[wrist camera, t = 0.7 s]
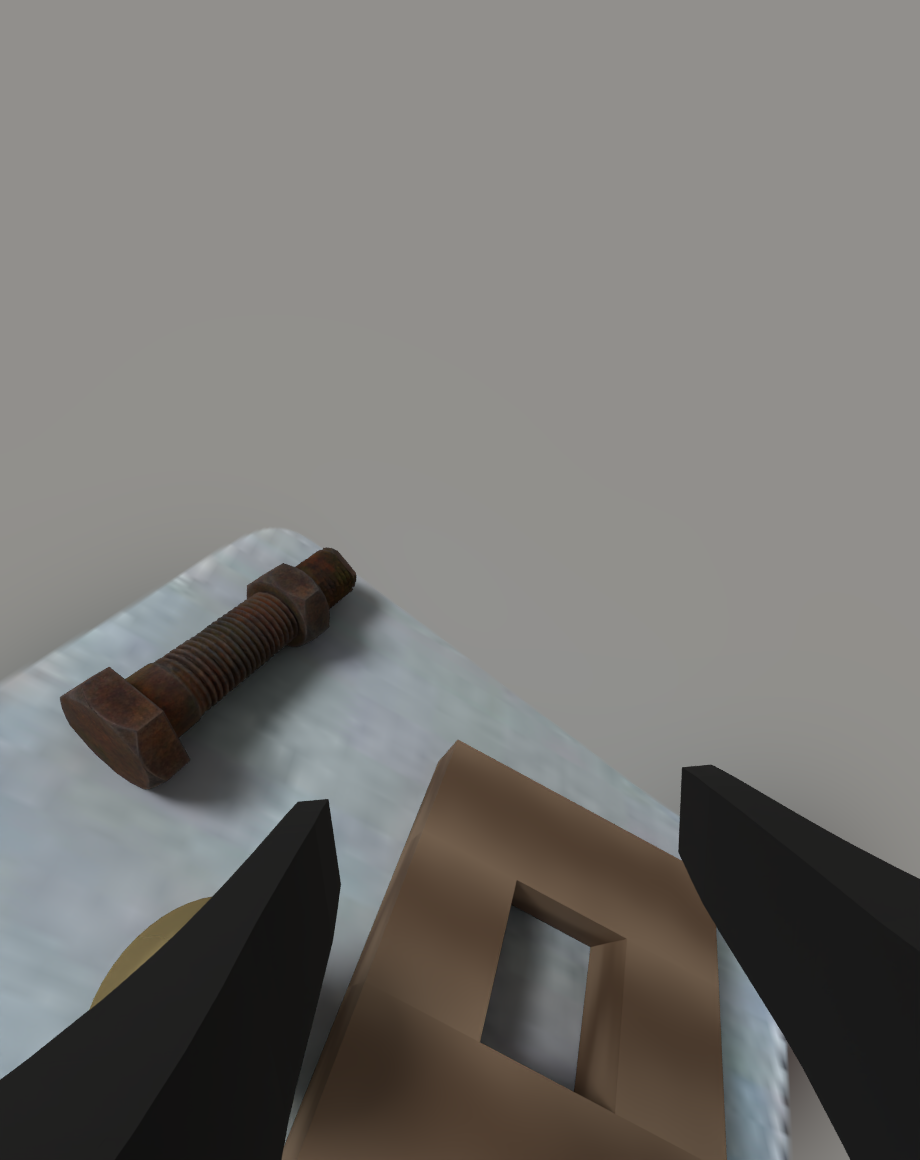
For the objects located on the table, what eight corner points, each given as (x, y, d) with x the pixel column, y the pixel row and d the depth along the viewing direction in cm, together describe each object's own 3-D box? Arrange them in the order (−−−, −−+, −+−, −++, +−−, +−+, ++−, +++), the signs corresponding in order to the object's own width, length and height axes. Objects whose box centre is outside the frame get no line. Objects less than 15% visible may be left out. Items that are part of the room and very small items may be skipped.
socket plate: (672, 1360, 17) (737, 1406, 15) (280, 1157, 17) (291, 1174, 15) (675, 889, 28) (713, 878, 26) (438, 761, 27) (457, 739, 25)
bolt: (335, 611, 34) (124, 790, 23) (291, 548, 33) (45, 705, 21) (390, 588, 30) (171, 789, 19) (343, 517, 29) (78, 686, 18)
